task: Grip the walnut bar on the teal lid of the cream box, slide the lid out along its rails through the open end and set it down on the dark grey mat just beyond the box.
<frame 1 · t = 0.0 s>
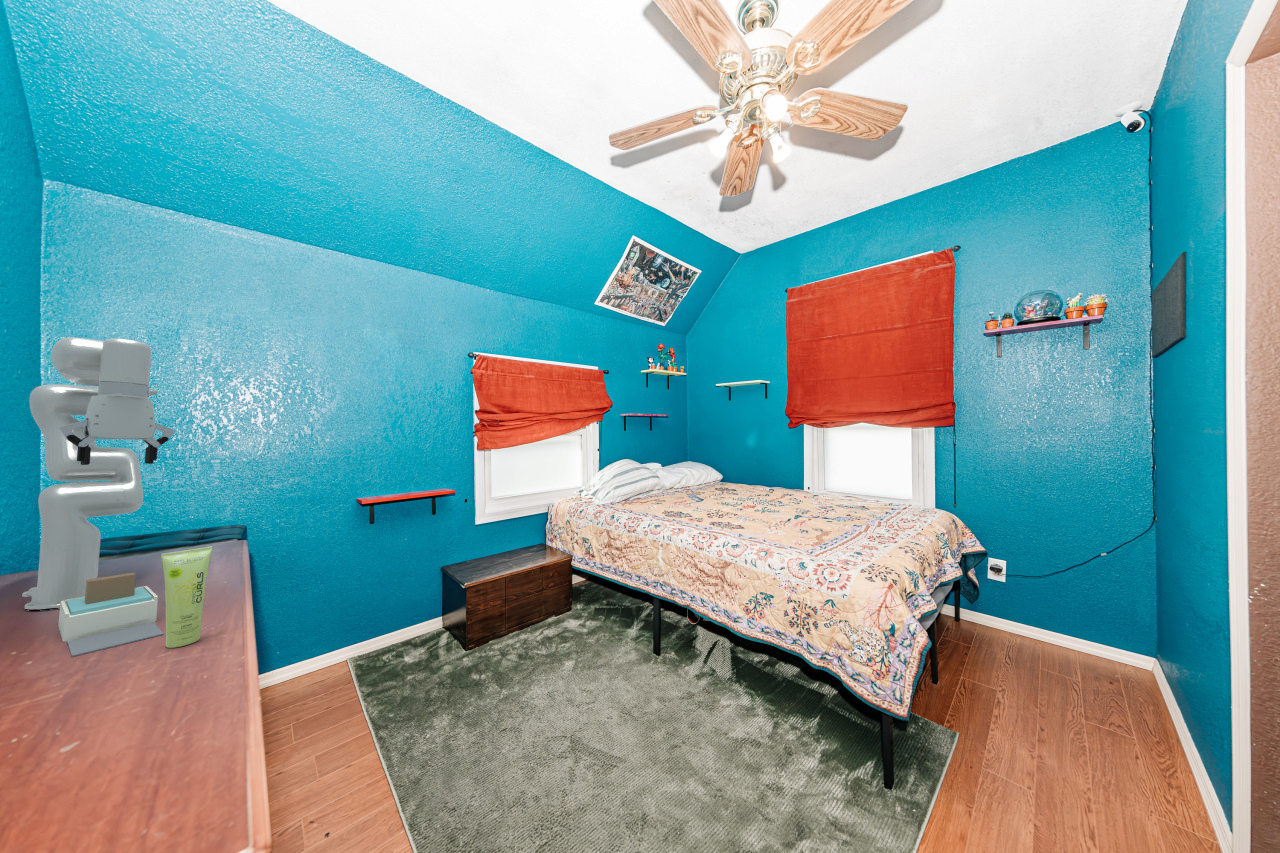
hand: (118, 464, 98), 37 cm above the dresser, tool pointing down, fingers open, 9 cm apart
box: (108, 624, 98), on the dresser
lid: (109, 602, 98), point 5 cm above the dresser, touching box
tube: (181, 644, 88), on the dresser
mat: (116, 638, 90), on the dresser
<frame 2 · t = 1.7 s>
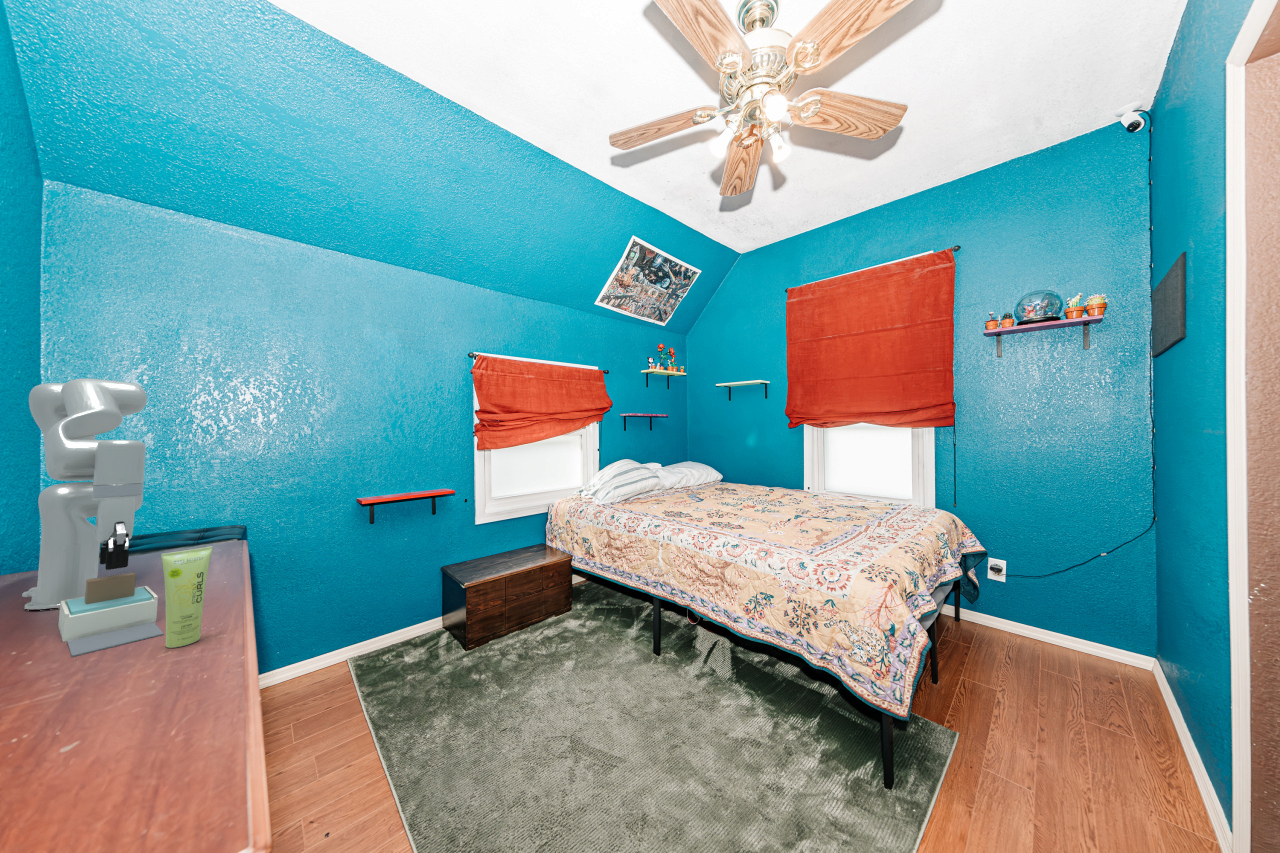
hand: (113, 565, 98), 13 cm above the dresser, tool pointing down, fingers open, 9 cm apart
nothing on the dresser moved.
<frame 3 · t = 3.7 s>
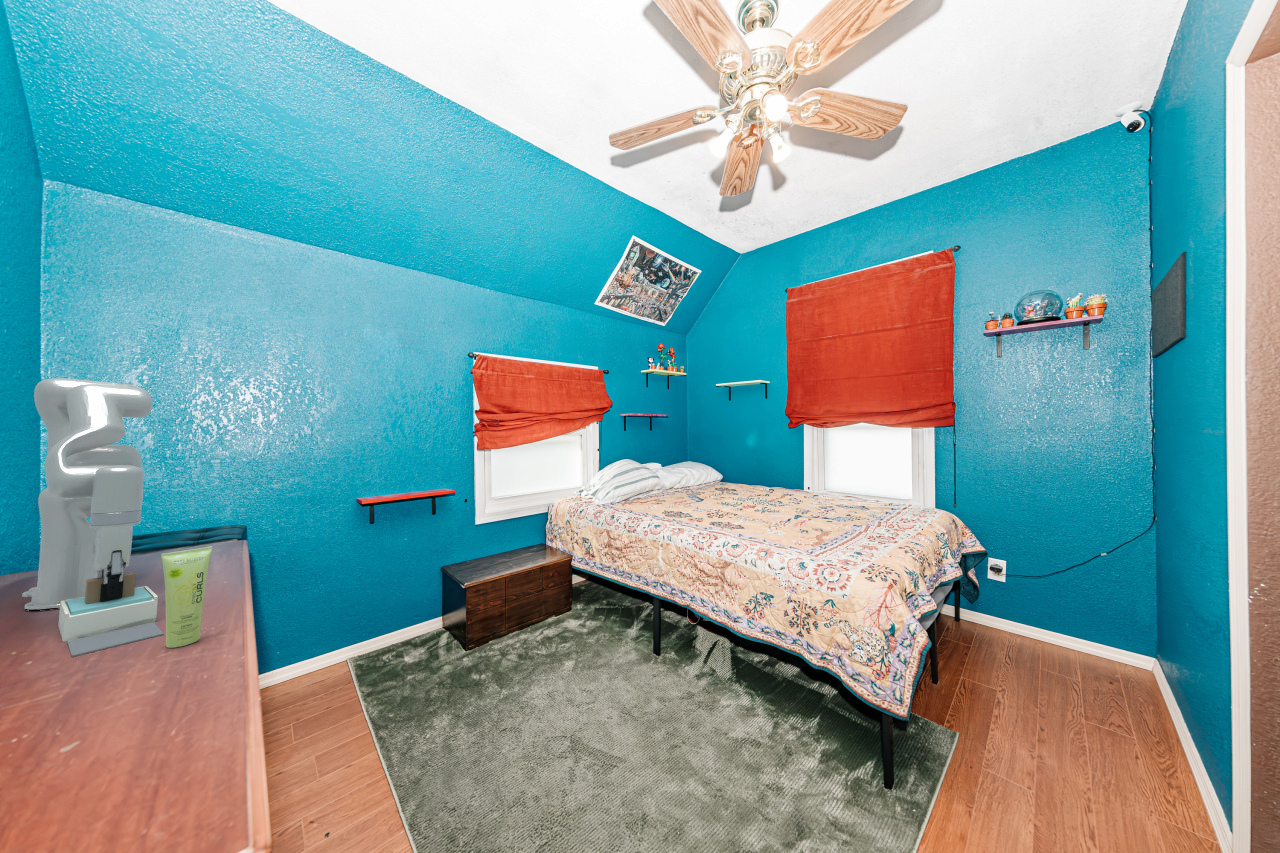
hand: (110, 597, 98), 6 cm above the dresser, tool pointing down, fingers closed on lid, 3 cm apart
lid: (109, 602, 98), point 5 cm above the dresser, touching box, gripper
everything else where it was.
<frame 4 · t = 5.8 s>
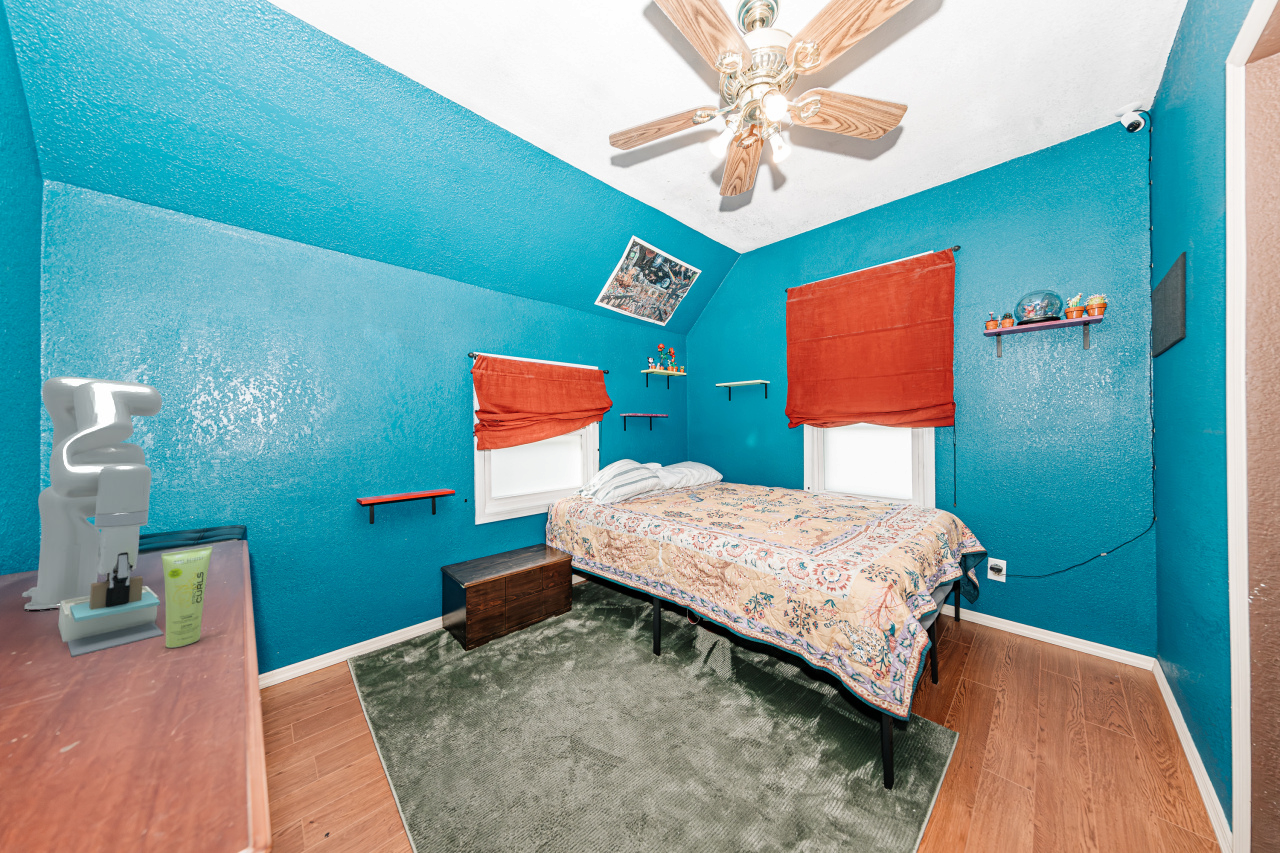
hand: (115, 602, 93), 7 cm above the dresser, tool pointing down, fingers closed on lid, 3 cm apart
lid: (115, 607, 93), point 6 cm above the dresser, touching gripper
everything else where it was.
when the fingers open (2 cm above the dresser, at t = 8.3 s): lid drops 1 cm, resting on mat.
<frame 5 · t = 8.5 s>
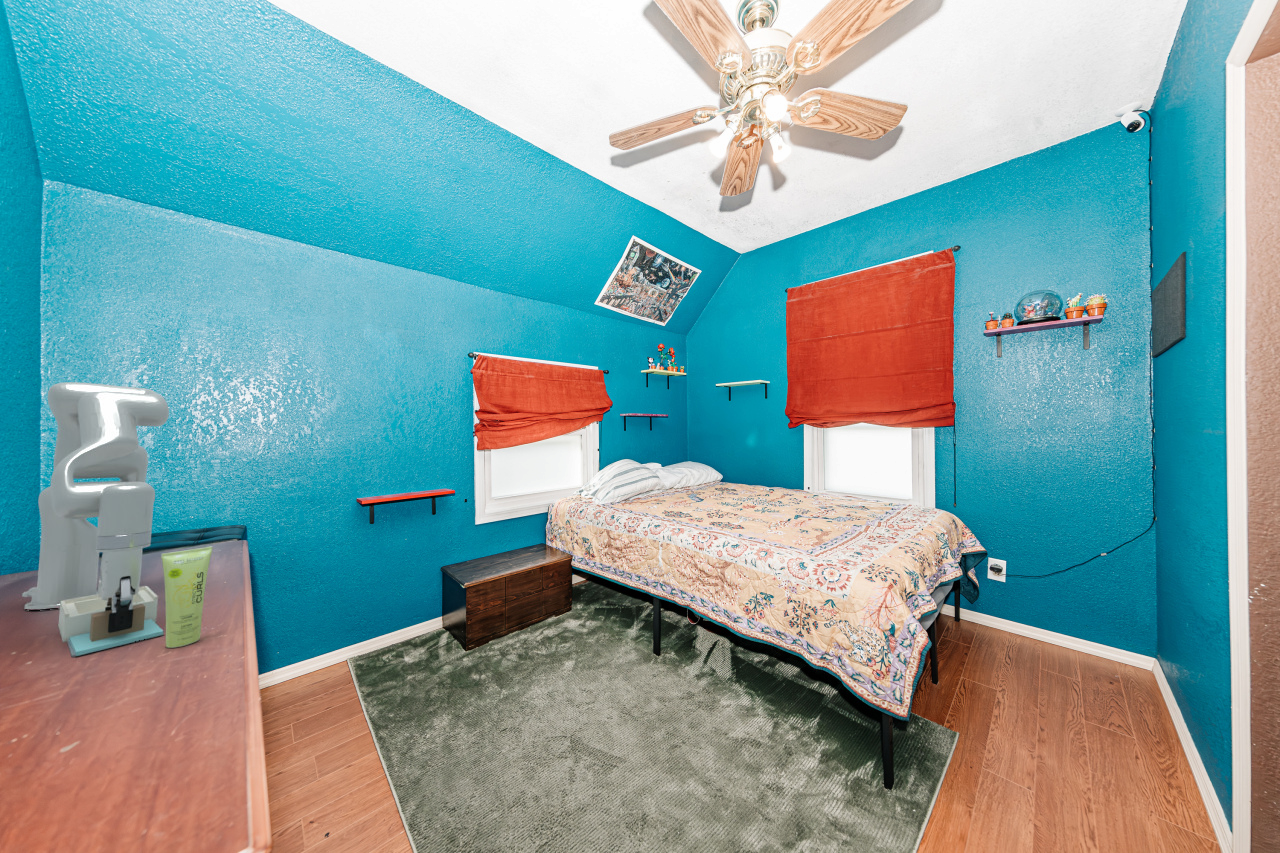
hand: (118, 626, 90), 3 cm above the dresser, tool pointing down, fingers open, 5 cm apart
lid: (116, 637, 90), resting on mat
everything else where it was.
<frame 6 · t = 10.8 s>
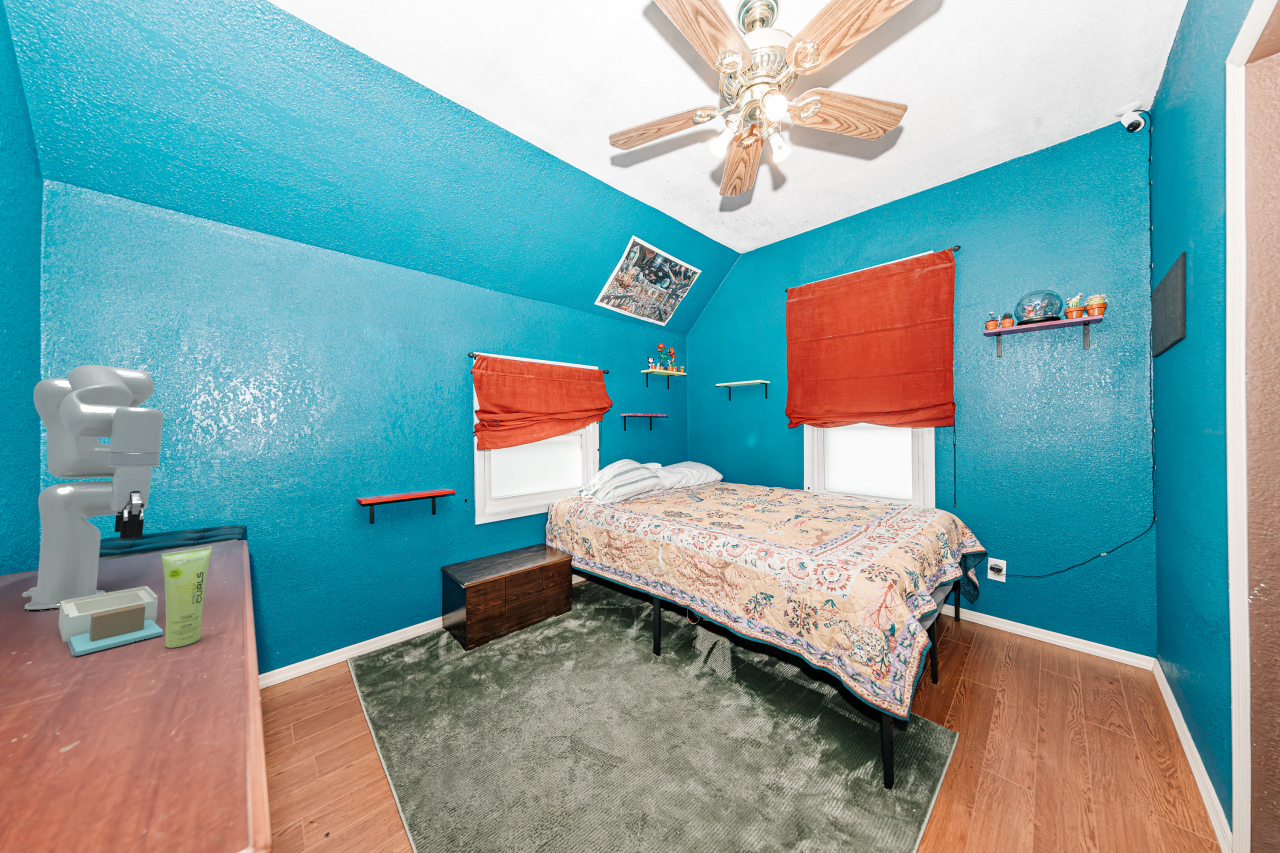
hand: (128, 534, 97), 21 cm above the dresser, tool pointing down, fingers open, 9 cm apart
nothing on the dresser moved.
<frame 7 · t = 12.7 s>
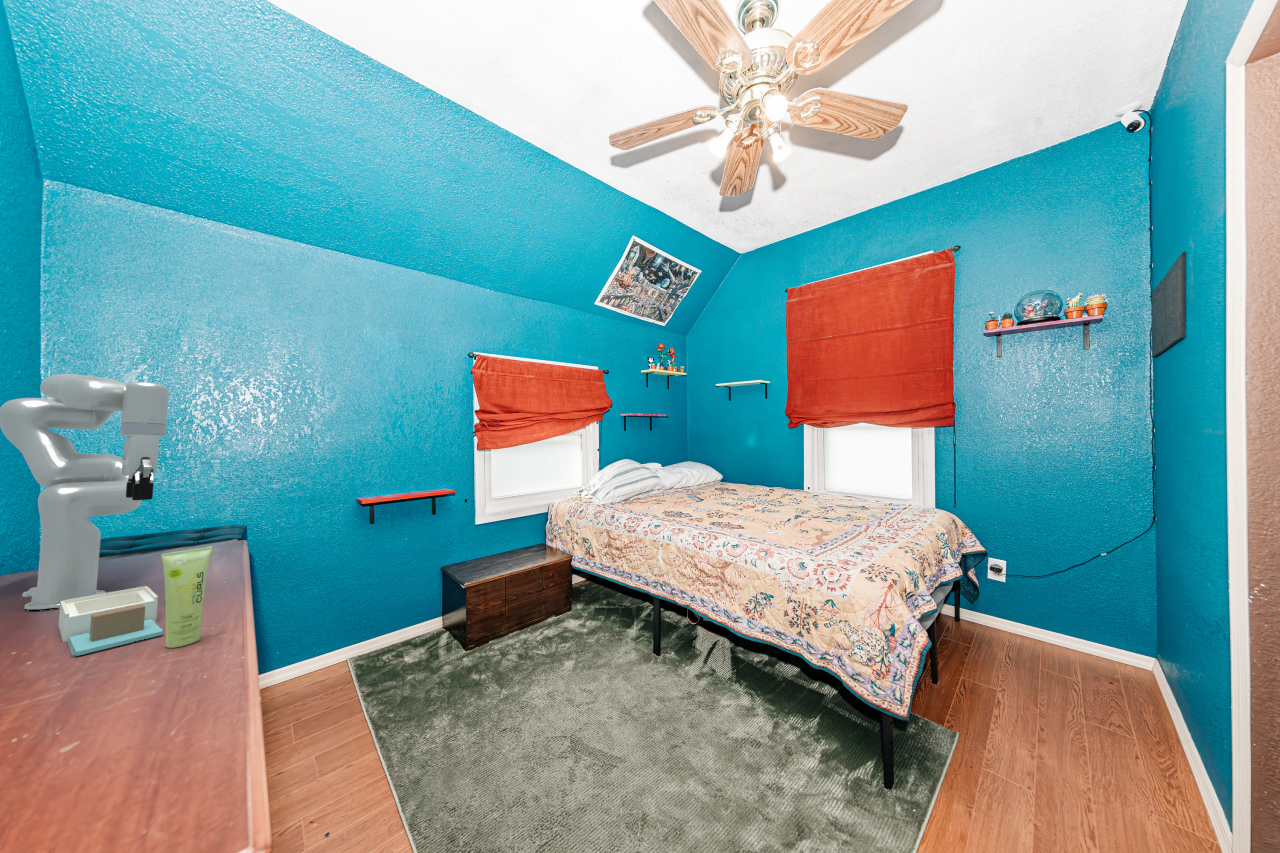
hand: (138, 498, 106), 28 cm above the dresser, tool pointing down, fingers open, 9 cm apart
nothing on the dresser moved.
at the end: lid inside the target area on the mat (0.4 cm from its centre), point 0.3 cm above the mat's base; lid tilted 0°; the gripper is holding nothing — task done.
